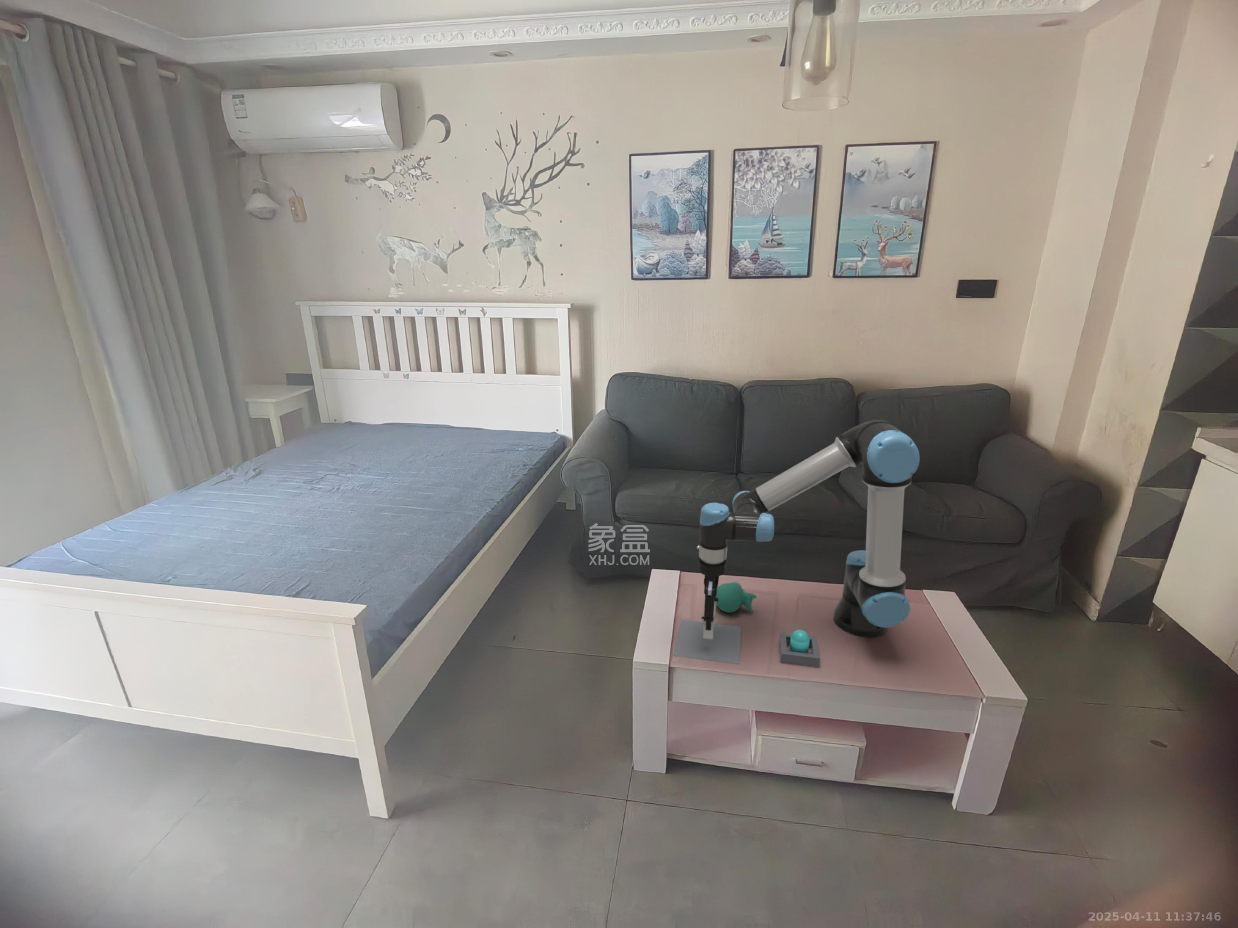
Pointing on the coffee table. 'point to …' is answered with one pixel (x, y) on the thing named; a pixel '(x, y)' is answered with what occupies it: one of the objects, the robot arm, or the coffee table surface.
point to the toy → (733, 597)
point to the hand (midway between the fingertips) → (709, 629)
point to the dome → (799, 642)
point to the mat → (709, 642)
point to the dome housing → (797, 657)
